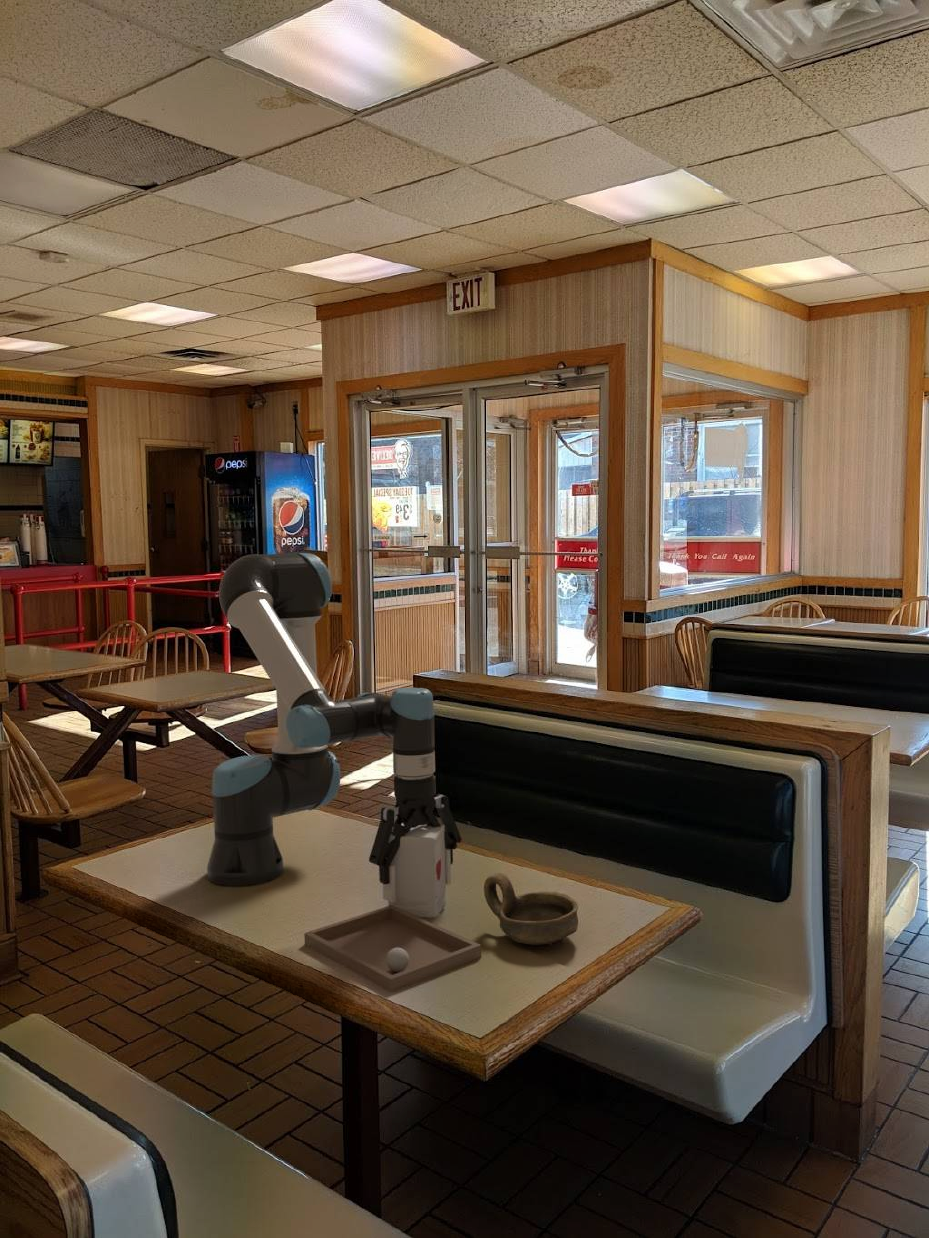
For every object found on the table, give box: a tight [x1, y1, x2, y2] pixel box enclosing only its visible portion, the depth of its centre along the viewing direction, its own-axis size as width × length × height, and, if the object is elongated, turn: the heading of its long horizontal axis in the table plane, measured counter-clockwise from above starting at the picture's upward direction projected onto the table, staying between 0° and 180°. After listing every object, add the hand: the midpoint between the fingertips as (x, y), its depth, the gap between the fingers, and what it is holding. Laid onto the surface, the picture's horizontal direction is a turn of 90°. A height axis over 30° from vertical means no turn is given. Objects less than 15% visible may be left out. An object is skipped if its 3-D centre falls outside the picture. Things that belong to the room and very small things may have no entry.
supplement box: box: [387, 823, 447, 918], centre depth 183 cm, size 9×9×15 cm
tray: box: [303, 905, 483, 993], centre depth 165 cm, size 24×18×2 cm
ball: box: [386, 948, 409, 972], centre depth 157 cm, size 4×4×4 cm
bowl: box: [483, 872, 579, 946], centre depth 170 cm, size 14×18×10 cm
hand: (417, 891), depth 183 cm, fingers closed on supplement box, 12 cm apart
